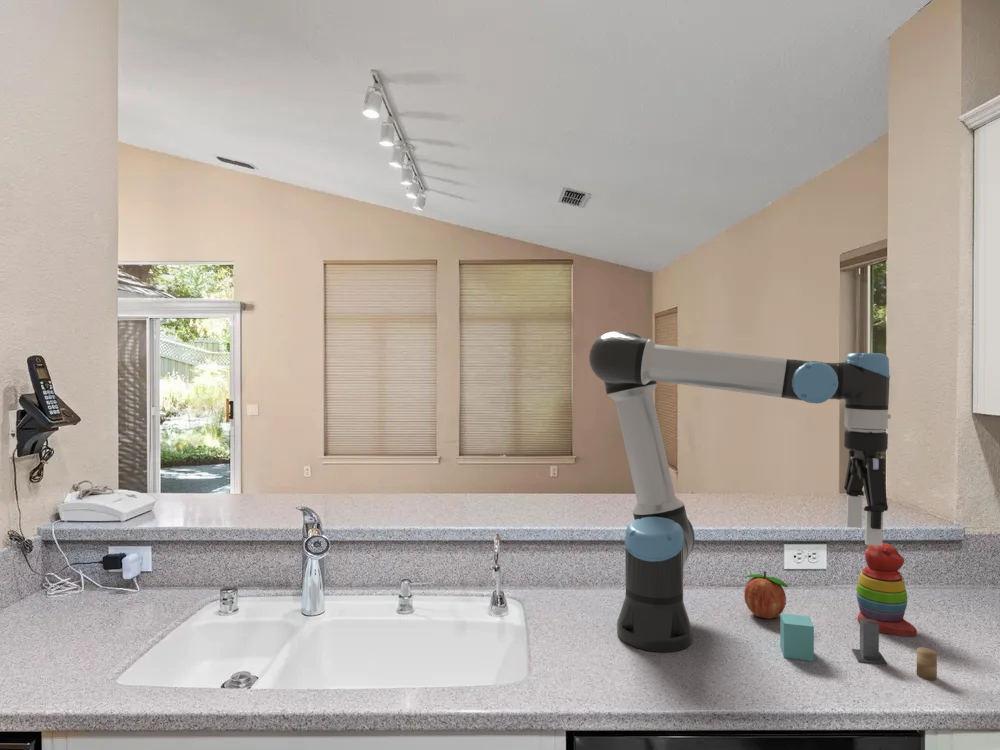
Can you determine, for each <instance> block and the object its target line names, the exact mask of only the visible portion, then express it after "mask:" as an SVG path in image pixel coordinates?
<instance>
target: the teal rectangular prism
mask: <svg viewBox="0 0 1000 750" xmlns="http://www.w3.org/2000/svg"><path fill="white" fill-rule="evenodd" d="M779 616H780V618H779V619H780V620H779V621H780V622H779V623H780V625H779V629H780V630H779V631H780V632H779V634H780V635H779V637H780V639H779V647H780V649H781V652H782V656H783V658H785V659H794V660H802V661H810V662H814V661H815V660H814V659H815V658H814V657H815V656H814V655H815V652H814V651H815V642H814V641H815V636H814V635H815V626H814V623H813V622H812V620H811V617H810V616H809V615H800V614H793V613H792V614H791V613H783V612H782V613H780V615H779Z"/></svg>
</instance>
